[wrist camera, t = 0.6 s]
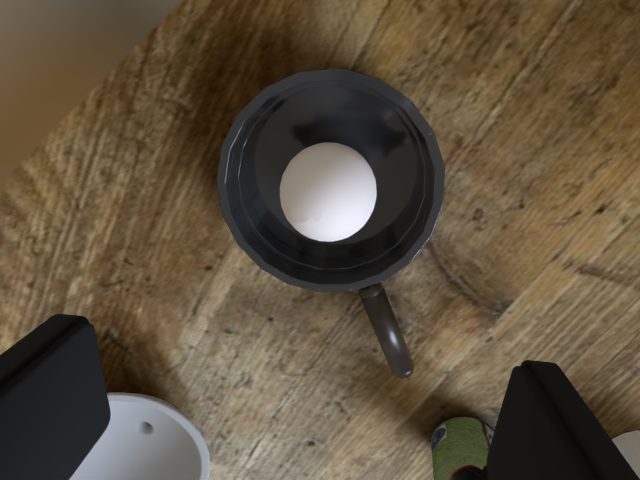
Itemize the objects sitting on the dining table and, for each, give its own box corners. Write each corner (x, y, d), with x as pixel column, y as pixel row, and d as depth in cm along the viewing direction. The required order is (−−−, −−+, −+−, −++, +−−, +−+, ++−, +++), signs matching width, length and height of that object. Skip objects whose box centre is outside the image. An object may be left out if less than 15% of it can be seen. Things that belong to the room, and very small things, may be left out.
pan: (201, 122, 28) (177, 127, 24) (395, 33, 24) (401, 24, 21) (284, 289, 32) (274, 316, 28) (456, 232, 29) (471, 254, 25)
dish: (141, 323, 35) (107, 361, 30) (261, 418, 37) (247, 466, 33) (46, 420, 40) (6, 464, 36) (157, 496, 43) (132, 545, 38)
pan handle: (354, 278, 29) (354, 290, 27) (378, 270, 28) (379, 282, 27) (393, 370, 31) (395, 386, 30) (415, 364, 31) (418, 380, 29)
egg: (384, 207, 28) (392, 247, 21) (305, 228, 29) (288, 274, 22) (361, 124, 26) (362, 138, 19) (278, 151, 27) (250, 174, 20)
